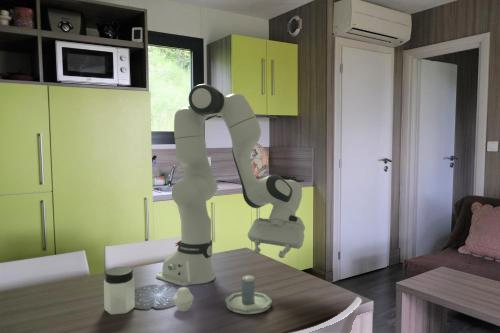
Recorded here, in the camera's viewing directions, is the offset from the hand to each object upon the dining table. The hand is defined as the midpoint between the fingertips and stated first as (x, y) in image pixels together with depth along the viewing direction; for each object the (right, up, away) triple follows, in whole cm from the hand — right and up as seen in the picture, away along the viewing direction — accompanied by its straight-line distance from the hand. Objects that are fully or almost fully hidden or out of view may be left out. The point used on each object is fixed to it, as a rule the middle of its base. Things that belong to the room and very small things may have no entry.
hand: (268, 254), depth 136 cm
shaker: (-7, -13, -10) cm, 18 cm away
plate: (-7, -14, -10) cm, 18 cm away
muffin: (-27, -14, -13) cm, 33 cm away
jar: (-47, -14, -13) cm, 50 cm away
